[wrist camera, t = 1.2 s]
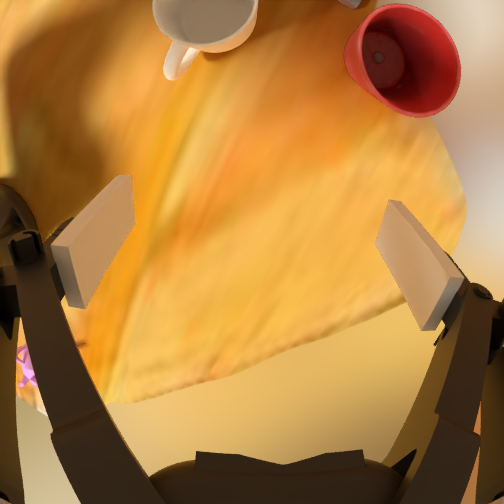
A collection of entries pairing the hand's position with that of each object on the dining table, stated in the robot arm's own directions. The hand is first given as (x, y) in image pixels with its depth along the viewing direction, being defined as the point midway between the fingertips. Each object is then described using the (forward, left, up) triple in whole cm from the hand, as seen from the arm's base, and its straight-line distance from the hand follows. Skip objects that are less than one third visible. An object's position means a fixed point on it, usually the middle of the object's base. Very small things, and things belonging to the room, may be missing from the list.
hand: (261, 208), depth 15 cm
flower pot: (+8, +14, -22) cm, 27 cm away
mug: (-9, +8, -22) cm, 25 cm away
